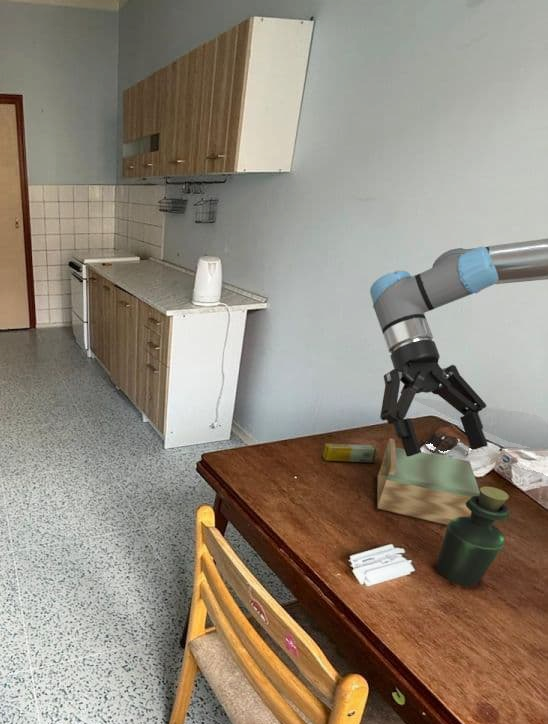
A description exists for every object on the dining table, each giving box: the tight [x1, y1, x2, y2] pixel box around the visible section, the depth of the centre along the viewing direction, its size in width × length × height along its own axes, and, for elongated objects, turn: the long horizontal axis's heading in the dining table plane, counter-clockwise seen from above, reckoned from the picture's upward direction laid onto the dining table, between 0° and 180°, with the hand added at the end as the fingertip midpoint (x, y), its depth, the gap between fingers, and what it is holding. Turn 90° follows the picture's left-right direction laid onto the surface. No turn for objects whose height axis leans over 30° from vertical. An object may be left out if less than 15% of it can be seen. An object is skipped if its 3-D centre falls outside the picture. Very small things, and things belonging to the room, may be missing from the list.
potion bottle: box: [436, 486, 510, 587], centre depth 82 cm, size 8×8×18 cm
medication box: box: [322, 443, 377, 464], centre depth 122 cm, size 12×3×4 cm, turn 85°
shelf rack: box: [376, 437, 480, 526], centre depth 104 cm, size 16×14×11 cm
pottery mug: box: [424, 423, 471, 454], centre depth 124 cm, size 12×10×8 cm
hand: (447, 451), depth 86 cm, fingers open, 13 cm apart
